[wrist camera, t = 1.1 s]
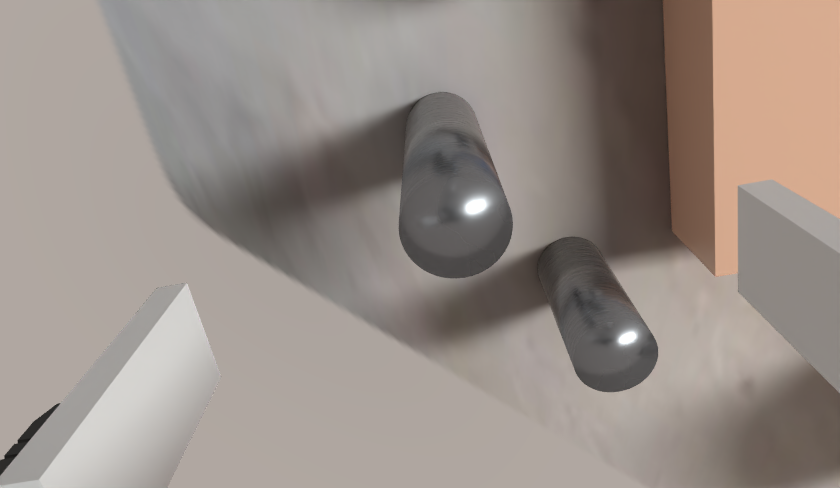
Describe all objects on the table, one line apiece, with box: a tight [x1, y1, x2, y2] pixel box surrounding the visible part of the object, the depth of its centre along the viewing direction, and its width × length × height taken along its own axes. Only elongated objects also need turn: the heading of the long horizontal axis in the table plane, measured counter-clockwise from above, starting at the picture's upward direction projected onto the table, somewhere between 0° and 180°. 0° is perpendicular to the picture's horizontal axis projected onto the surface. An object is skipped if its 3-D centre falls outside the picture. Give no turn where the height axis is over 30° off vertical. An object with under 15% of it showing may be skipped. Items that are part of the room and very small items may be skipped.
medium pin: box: [537, 237, 658, 392], centre depth 28 cm, size 3×3×8 cm
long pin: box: [399, 92, 513, 278], centre depth 24 cm, size 3×3×12 cm
